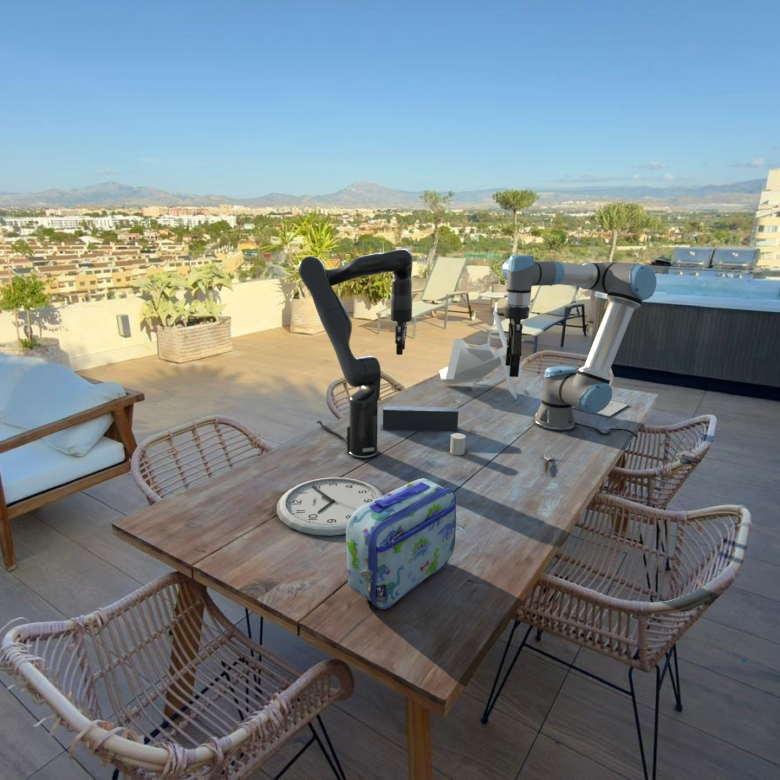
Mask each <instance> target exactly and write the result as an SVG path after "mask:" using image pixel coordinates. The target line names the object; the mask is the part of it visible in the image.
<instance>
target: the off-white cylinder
mask: <svg viewBox="0 0 780 780" xmlns="http://www.w3.org/2000/svg"><path fill="white" fill-rule="evenodd" d="M466 437H467V436H466V434H463V433H459V432H455V433H452V434H450V442H449V443H450V444H449V445H450V446H449V453H450V454H451V455H453V456H463V455H464V454H465V453H466V439H467V438H466Z"/></svg>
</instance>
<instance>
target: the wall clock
mask: <svg viewBox="0 0 780 780" xmlns="http://www.w3.org/2000/svg"><path fill="white" fill-rule="evenodd" d="M384 495H385V494H384V493H383V492H382V491H381V490H380V489H379V488H377V487H376V486H374V485H372V484H371V483H369V482H365V481H362V480H359V479H355V478H349V477H338V476H337V477H335V476H333V477H332V476H331V477H322V478H317V479H312V480H307V481H305V482H302V483H299V484H297V485H295V486H293V487H292V488H290V489H288V490H287V491H286V492H285V493H284V494H283V495H281V496H280V498H279V499H278V502H277V503H276V515H277V517H278V518H279V520H280V521H281V522H282V523H283V524H285V525H286V526H287V527H288V528H290V529H293V530H295V531H297V532H299V533H303V534H308V535H312V536H327V537H328V536H329V537H331V536H332V537H333V536H342V535H346V528H347V524H348V521H349V519H350V517H351V515H352V514H353V513H354V512H355V511H356V510H357V509H358V508H360V507H362V506H364V505H366V504H368V503H370V502H372V501H374V500H376V499H378V498H380V497H382V496H384Z"/></svg>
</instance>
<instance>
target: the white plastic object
mask: <svg viewBox="0 0 780 780" xmlns="http://www.w3.org/2000/svg"><path fill="white" fill-rule="evenodd" d="M492 315H493V319H494V321H495V324H496V325H495V326H496V328H497V332H498V335H499V338H500V342H501V345H502V347H500V348H498V349H496V350H495V349H493V348H492V347H491V346H490V344H489V343H488V342H487V343H483V344H479V345H473V346H469V345H468V343H466V342H465V340H464V339H463V338H460V339H458V338H454V340H453V344H452V349H451V353H450V357H449V362H448V366H446V367H444V368H442V369H440V370H439V371H438V372H439V376H440V381H442V383H443V384H444V385H445V386H449V385H458V384H467V383H468V384H469V383H473V384H477V383H480V382H482V381H484V378H485V377H486V376H487V375H489V374H490V373H492V372H494V371H495V370H496V369H497V368H499V367H500V366H502V370H503V373H504V376H505V380H506V383H507V386H508V390H509V393H510V394H511V395H512V397H513V398H514V399H515V400H517V392H516V391H517V390H516V388H515V385H514V381H513V377H509V373H510V367H509V366H505V363H506V351H507V342H506V341H507V336H506V334H505V331H504V328H503V325H502V321H501V318H500V315H499V314H498V312H497V311H496V310H495V311H492ZM522 368H523V367H522V366H521V362H520V363H519V374H518V380H519V382H520V385H521V389H522V391H523V393H524V395H525V396H526V397H528V396H531V395H530V390H529V388H528V387H529V386H528V384H527V381H526V378H525V375H524V371H523V369H522Z"/></svg>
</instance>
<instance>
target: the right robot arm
mask: <svg viewBox="0 0 780 780" xmlns="http://www.w3.org/2000/svg"><path fill="white" fill-rule="evenodd" d="M501 273H502V276H503V278H504V279H505V280H506V293H505V294H504V295H503V298H505V304H506V306H504V314H503V315H504V318H505V319H508V320H509V323H508V329H507V336H506V340H507V341H506V342H507V351H506V363H505V366H508V367H509V371H510V373H509V377H511V378H519V376H518V374H519V363H520V364H521V357H522V355H523V353H522V340H523V327H524V326H523V324H522V322H521V321H522V320H528V319H529V316H530V305H531V298H532V287H536V286H537V287H538V286H540V287H541V286H542V287H543V286H550V287H552V286H556V285H561V286H573V287H579V288H580V289H583V290H589V291H594V292H598V293H603V294H604V295H606V298H607V299H606V300H607V301H608V304H607V306H606V310H605V312H604V315H603V317H602V319H601V322H600V325H599V327H598V330H597V333H596V334H595V337H594V339H593V342H592V345H591V347H590V350H589V353H588V355H587V358H586V360H585V363H584V365H583V366H582V367H580V368H578V369H577V367H574V366H566V365H565V366H564V365H559V366H558V365H557V366H550V367H547V368H546V369H545V370H544V375H543V381H542V392H541V402H540V405H539V407H538V410H537V411H536V413H535V414H534V416H535V417H534V424H535V425H536V426H537V427H539V428H542V429H544V430H549V431H556V432H567V431H572V430H574V429H575V428H576V426H580V427H583V428H586V429H591V430H594V431H596V432H598V433H599V434H600V435H601V436H608V435H610V434H611V431H621V432H627V433H629V434H631V435H633V436H634V437H635V438H637V439H638V438H639V436H638V435H637V434H636V433H635V432H633V431H632V430H630V429H627V428H617V427H616V428H615V427H614V428H611V427H610V428H609V429H608V430H607V432H602V431H601V430H600V429H599V428H597V427H593V426H590V425H586V424H582V423H579V422H576V418H575V417H576V416H575V413H574V407H576V408H578V409H577V410H580V411H582V412H586V413H589V414H596V413H597V412H600V411H601V410H603V409H604V408H605V407H606V406H607V405H608V404H609V402H610V401H612V398H613V388H612V386H611V385H610V383H611V377H610V375H609V373H610V371H611V369H612V365H613V363H614V360H615V358H616V356H617V353H618V351H619V348H620V345H621V343H622V341H623V338H624V336H625V333H626V331H627V329H628V325H629V323H630V321H631V319H632V316H633V313H634V310H636V309H639V308H640V307H641V306H642V303H643V301H646V300H649V299H650V298H651V297H652V296H653V295H654V293H655V292H656V289H657V284H658V283H657V276H656V272H655V270H654V269H653V268H652V266H651V265H650V266H649V265H648V264H644V263H643V264H642V263H639V262H635V263H631V262H619V261H604V262H603V261H602V262H589V261H588V262H585V263H583V264H580V263H569V262H560V261H557V260H555V261H554V260H535V257H534V255H530V254H512V255H511V256H509V258H508V259H507V260H505V261H504V263H503V265H502V267H501ZM576 408H575V409H576Z"/></svg>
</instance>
